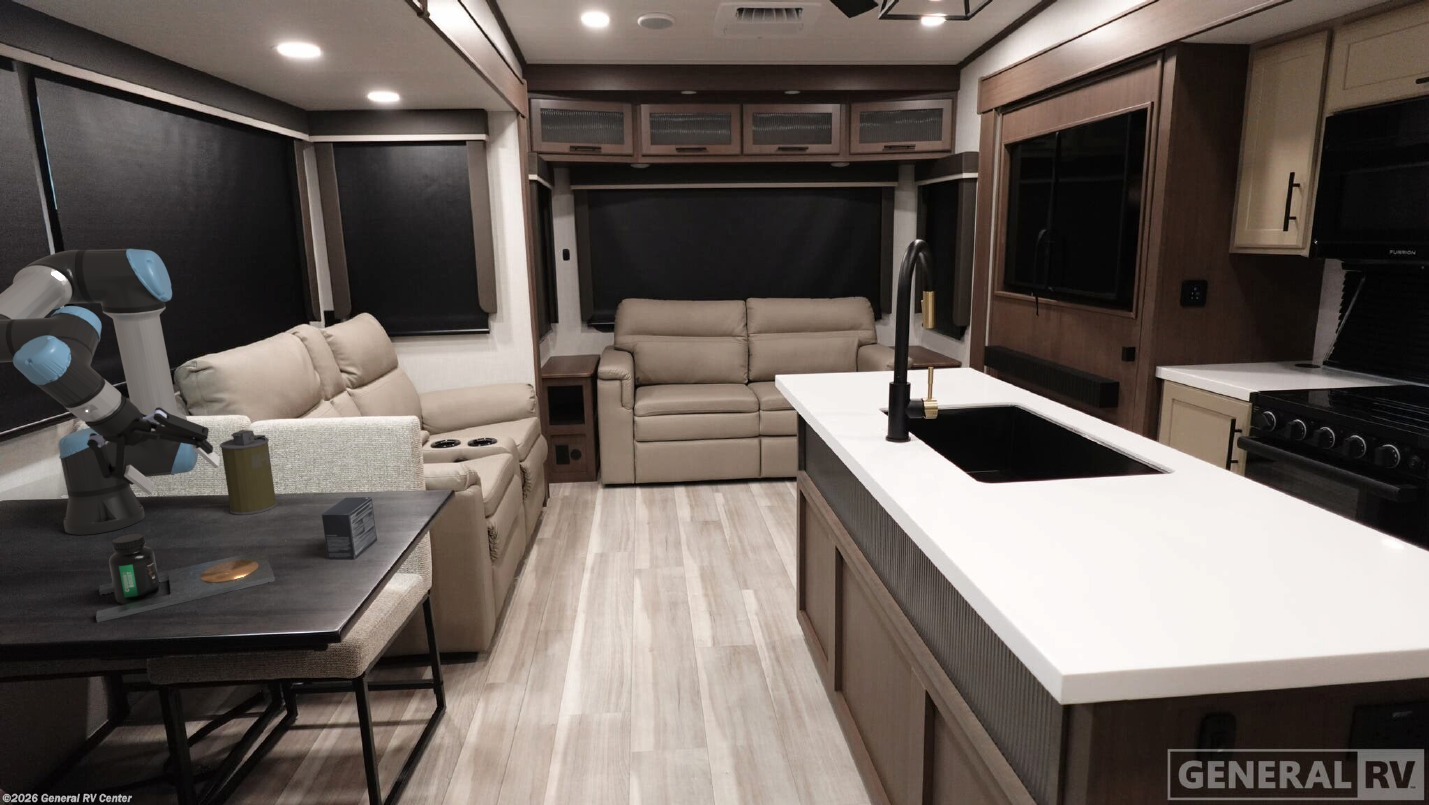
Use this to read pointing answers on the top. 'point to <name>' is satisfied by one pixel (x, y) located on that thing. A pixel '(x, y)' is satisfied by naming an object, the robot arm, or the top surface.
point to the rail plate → (198, 583)
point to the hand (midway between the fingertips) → (184, 476)
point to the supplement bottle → (133, 569)
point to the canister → (248, 473)
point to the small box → (349, 528)
